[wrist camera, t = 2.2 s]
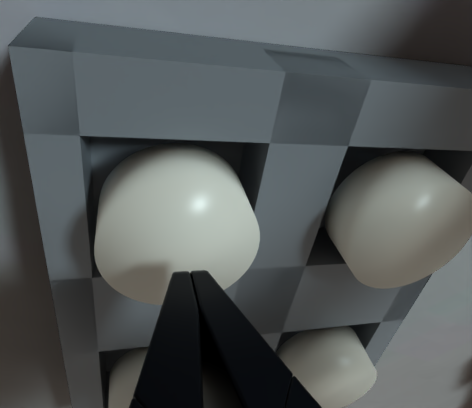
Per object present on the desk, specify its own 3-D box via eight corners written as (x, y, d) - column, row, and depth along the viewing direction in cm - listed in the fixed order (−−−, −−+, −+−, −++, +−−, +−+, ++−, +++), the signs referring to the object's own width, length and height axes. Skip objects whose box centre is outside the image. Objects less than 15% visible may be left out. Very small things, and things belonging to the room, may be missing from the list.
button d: (216, 335, 16) (225, 379, 15) (205, 390, 19) (212, 433, 17) (107, 346, 15) (105, 395, 14) (111, 403, 18) (109, 451, 16)
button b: (254, 145, 11) (274, 182, 10) (232, 255, 14) (245, 299, 12) (94, 140, 10) (88, 180, 8) (102, 262, 12) (98, 310, 11)
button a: (459, 153, 13) (504, 184, 12) (408, 248, 16) (439, 284, 14) (347, 149, 12) (380, 183, 10) (311, 252, 14) (332, 293, 13)
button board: (475, 66, 14) (543, 96, 12) (333, 351, 24) (355, 396, 22) (35, 16, 10) (7, 45, 8) (83, 382, 20) (78, 442, 18)
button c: (369, 319, 18) (391, 357, 17) (340, 371, 21) (358, 408, 19) (283, 328, 17) (299, 369, 16) (264, 382, 20) (276, 422, 18)
